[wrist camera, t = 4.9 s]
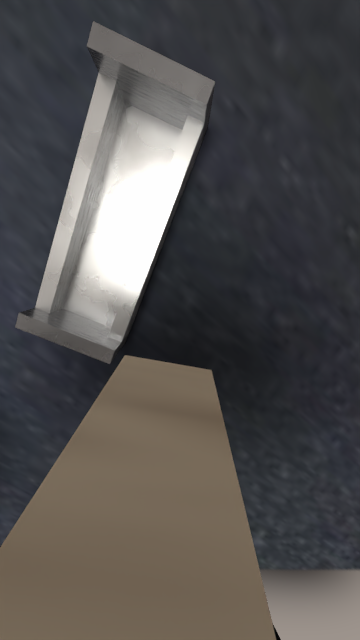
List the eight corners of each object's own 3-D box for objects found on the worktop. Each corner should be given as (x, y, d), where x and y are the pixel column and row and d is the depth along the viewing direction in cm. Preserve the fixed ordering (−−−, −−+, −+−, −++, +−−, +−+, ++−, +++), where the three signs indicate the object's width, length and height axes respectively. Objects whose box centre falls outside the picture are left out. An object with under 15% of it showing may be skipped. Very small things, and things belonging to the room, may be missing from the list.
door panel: (175, 541, 10) (155, 1127, 3) (102, 530, 10) (-76, 1103, 3) (215, 370, 8) (367, 919, 1) (124, 354, 8) (-195, 849, 1)
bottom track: (125, 343, 19) (109, 364, 15) (50, 313, 19) (15, 327, 15) (207, 127, 15) (215, 81, 11) (117, 84, 15) (93, 21, 11)
